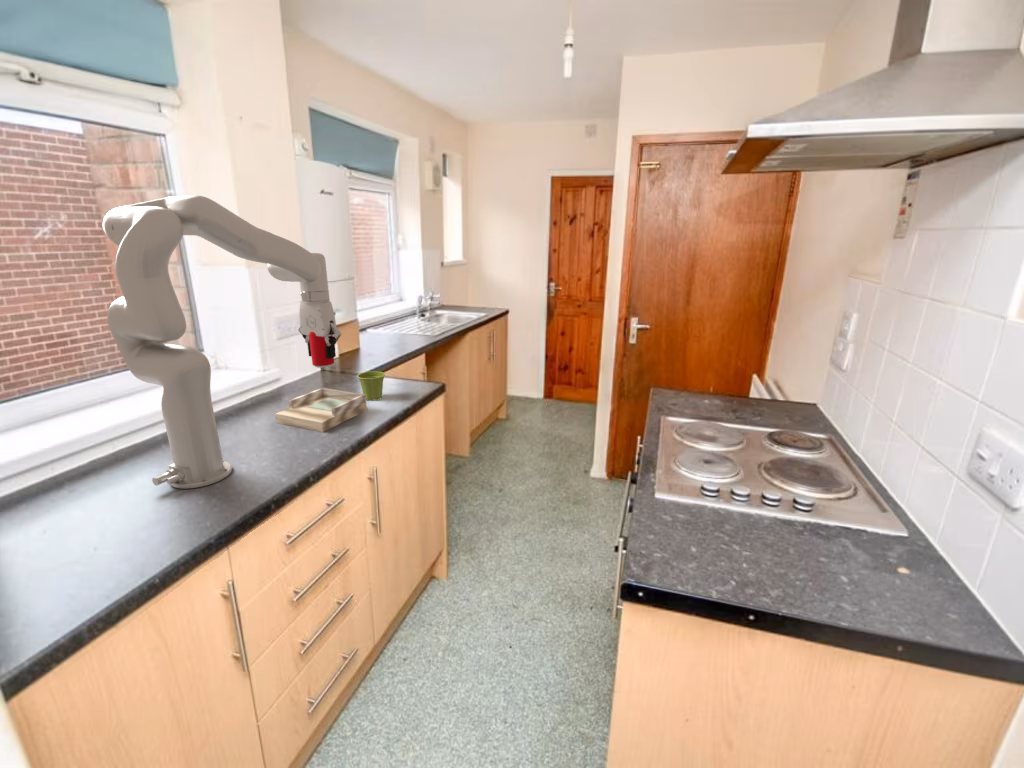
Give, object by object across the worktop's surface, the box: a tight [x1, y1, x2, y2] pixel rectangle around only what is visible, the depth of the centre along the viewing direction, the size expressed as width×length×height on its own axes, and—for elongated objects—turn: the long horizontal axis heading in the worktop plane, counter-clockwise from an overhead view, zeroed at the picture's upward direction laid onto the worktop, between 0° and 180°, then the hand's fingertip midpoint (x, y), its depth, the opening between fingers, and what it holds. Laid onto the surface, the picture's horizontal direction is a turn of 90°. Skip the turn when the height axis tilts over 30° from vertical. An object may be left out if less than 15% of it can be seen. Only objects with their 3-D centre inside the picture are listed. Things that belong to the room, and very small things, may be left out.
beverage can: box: [309, 332, 335, 369], centre depth 143 cm, size 6×6×12 cm
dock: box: [274, 387, 368, 433], centre depth 150 cm, size 20×18×6 cm
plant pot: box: [356, 370, 386, 401], centre depth 167 cm, size 9×9×9 cm
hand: (322, 356), depth 144 cm, fingers closed on beverage can, 6 cm apart
